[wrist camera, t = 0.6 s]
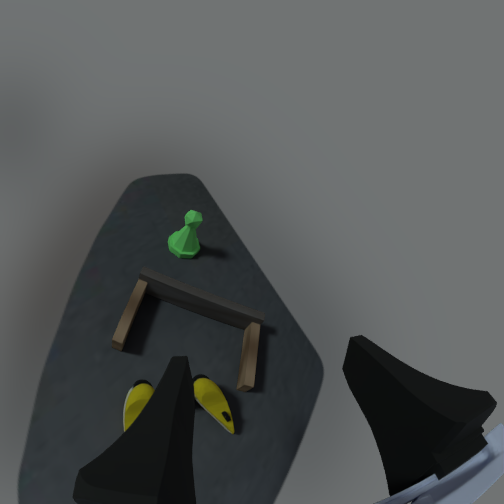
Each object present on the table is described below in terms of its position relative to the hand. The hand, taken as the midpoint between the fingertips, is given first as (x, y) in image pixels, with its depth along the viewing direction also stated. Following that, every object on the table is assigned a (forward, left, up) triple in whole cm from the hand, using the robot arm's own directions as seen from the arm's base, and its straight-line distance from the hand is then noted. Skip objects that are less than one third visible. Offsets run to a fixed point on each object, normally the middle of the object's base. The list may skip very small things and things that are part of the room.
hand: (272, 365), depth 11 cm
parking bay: (+8, +2, -16) cm, 18 cm away
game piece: (+21, +6, -16) cm, 27 cm away
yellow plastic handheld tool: (0, +1, -17) cm, 17 cm away
